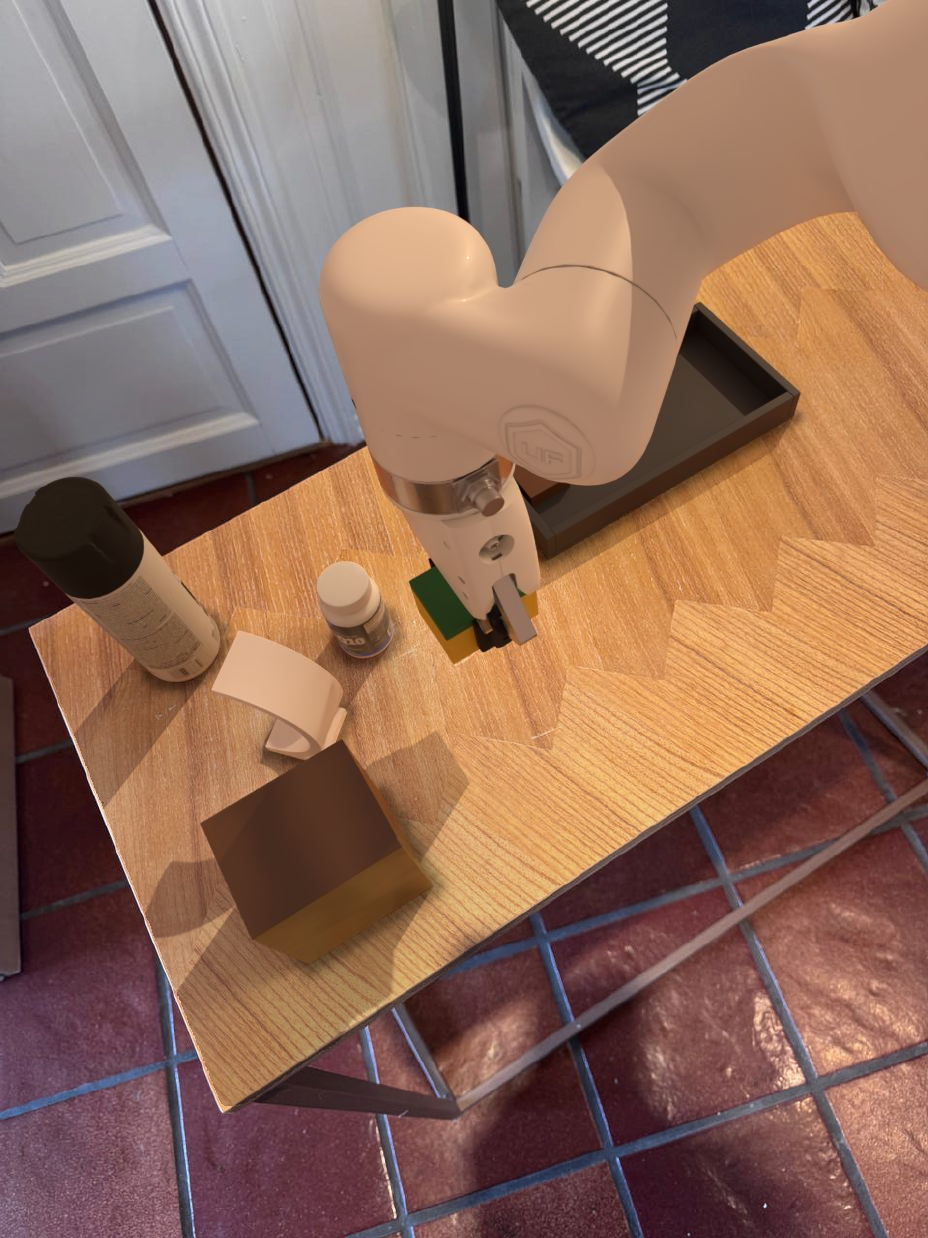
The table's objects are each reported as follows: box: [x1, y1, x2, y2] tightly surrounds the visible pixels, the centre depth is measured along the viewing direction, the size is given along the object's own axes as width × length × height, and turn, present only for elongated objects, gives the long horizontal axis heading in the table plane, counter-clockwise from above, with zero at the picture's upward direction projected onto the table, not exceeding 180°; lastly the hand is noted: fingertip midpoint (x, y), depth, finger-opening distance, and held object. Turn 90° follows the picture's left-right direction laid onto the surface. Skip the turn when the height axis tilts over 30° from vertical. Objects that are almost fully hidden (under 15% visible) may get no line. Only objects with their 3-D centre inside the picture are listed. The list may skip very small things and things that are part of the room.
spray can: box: [13, 476, 221, 683], centre depth 65 cm, size 7×7×20 cm
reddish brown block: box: [513, 464, 570, 508], centre depth 76 cm, size 4×4×2 cm
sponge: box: [408, 566, 539, 665], centre depth 61 cm, size 7×5×4 cm
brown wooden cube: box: [199, 738, 434, 965], centre depth 58 cm, size 10×8×12 cm
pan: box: [521, 301, 802, 560], centre depth 77 cm, size 26×14×3 cm, turn 121°
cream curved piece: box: [210, 630, 348, 761], centre depth 64 cm, size 5×6×12 cm
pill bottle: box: [315, 560, 394, 659], centre depth 69 cm, size 5×5×8 cm
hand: (477, 607), depth 62 cm, fingers closed on sponge, 5 cm apart
